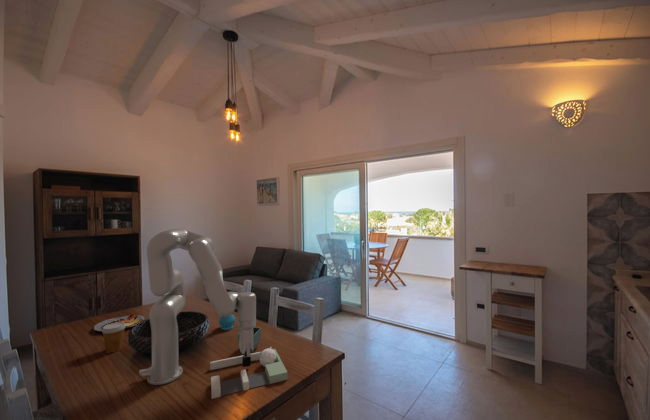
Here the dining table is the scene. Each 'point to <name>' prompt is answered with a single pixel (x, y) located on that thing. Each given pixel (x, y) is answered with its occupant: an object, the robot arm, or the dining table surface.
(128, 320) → the food plate
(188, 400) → the dining table surface
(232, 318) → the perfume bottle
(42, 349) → the dining table surface
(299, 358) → the dining table surface
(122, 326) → the disposable coffee cup
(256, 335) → the flower pot
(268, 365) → the u-shaped rail frame
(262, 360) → the ornament
